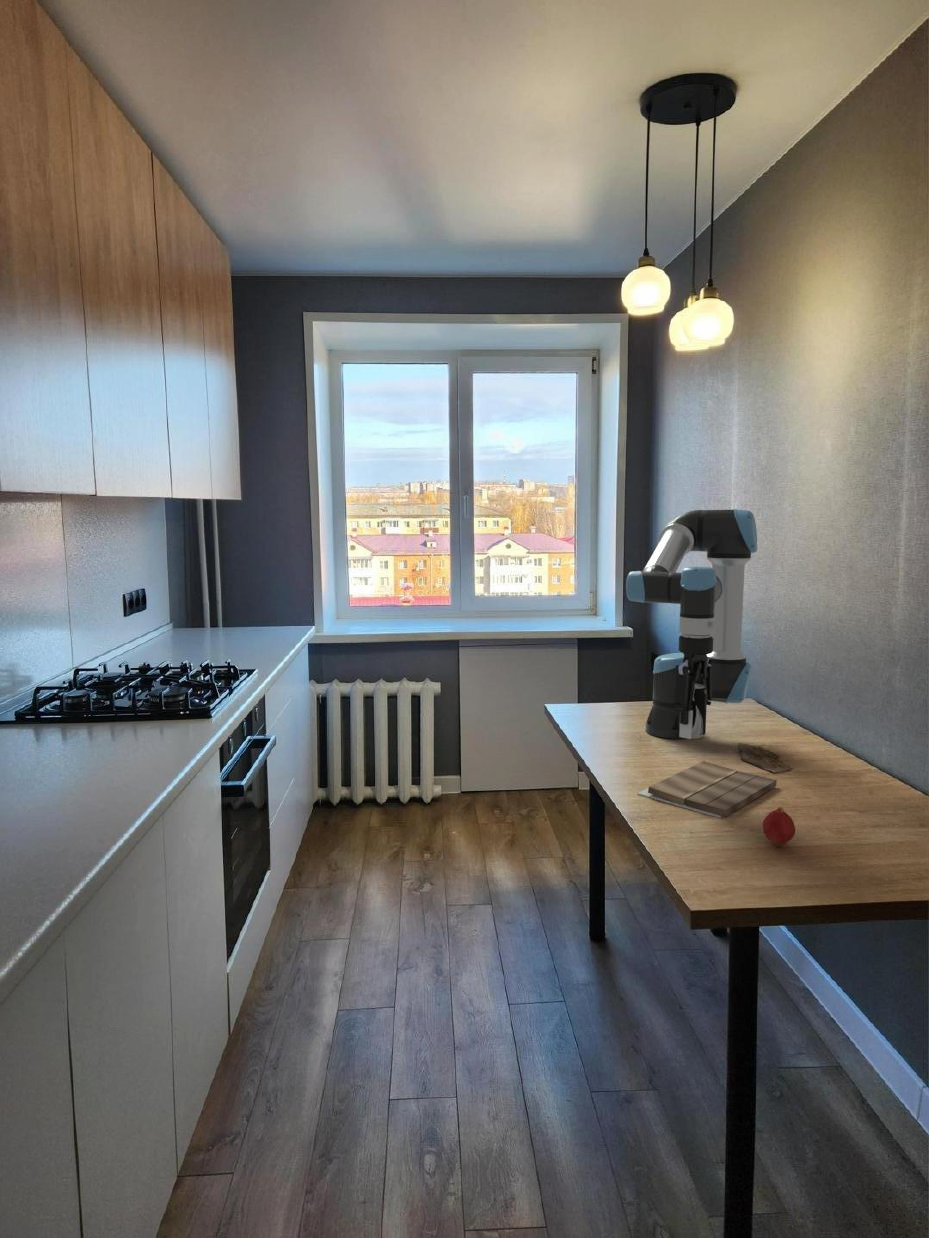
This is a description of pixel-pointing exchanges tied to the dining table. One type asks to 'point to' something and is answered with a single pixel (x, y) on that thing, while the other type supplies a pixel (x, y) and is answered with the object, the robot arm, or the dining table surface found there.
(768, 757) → the wooden fragment
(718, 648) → the robot arm
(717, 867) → the dining table surface
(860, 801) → the dining table surface
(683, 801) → the plank
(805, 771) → the dining table surface
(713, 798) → the laid board
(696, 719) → the beverage can
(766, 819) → the pomegranate
